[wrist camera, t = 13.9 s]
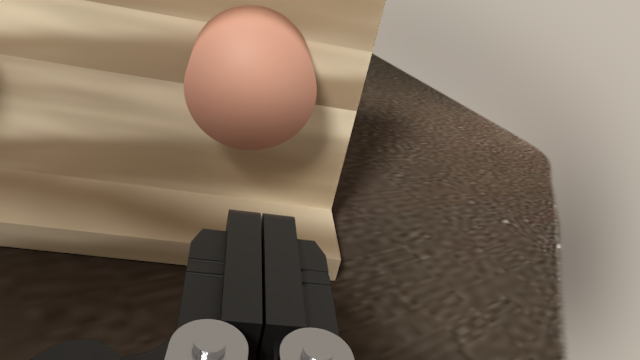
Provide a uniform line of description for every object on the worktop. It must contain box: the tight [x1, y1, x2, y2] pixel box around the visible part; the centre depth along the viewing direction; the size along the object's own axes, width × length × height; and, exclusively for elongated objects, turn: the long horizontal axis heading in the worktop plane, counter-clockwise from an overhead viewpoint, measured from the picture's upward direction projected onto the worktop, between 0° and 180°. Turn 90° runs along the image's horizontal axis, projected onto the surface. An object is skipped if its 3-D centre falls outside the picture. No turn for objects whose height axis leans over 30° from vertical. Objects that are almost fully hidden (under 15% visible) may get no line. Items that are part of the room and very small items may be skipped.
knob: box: [184, 5, 317, 150], centre depth 27 cm, size 13×5×5 cm, turn 5°
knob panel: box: [0, 0, 386, 281], centre depth 24 cm, size 7×24×13 cm, turn 95°
